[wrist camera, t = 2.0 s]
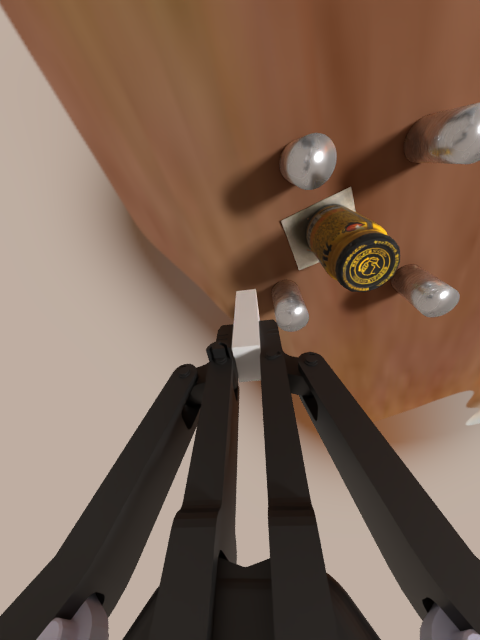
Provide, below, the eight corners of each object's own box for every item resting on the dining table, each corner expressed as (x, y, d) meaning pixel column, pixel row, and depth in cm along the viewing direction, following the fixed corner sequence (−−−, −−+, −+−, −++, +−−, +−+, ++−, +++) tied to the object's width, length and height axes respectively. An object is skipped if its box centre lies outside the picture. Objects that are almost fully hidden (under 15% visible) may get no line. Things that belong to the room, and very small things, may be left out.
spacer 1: (278, 142, 25) (287, 138, 19) (317, 135, 24) (338, 128, 19) (280, 185, 27) (289, 193, 21) (315, 179, 27) (334, 185, 21)
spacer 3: (409, 118, 23) (462, 105, 18) (452, 110, 23) (521, 94, 17) (399, 165, 26) (443, 167, 20) (439, 158, 25) (495, 159, 19)
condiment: (361, 243, 31) (415, 285, 21) (298, 269, 33) (320, 318, 23) (350, 186, 27) (409, 203, 17) (280, 220, 29) (297, 252, 19)
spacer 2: (270, 281, 34) (275, 307, 28) (298, 278, 33) (309, 303, 28) (272, 305, 36) (277, 333, 30) (298, 302, 36) (308, 329, 30)
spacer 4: (394, 266, 32) (426, 290, 26) (425, 262, 32) (465, 285, 26) (388, 291, 34) (416, 318, 29) (417, 288, 34) (452, 315, 28)
